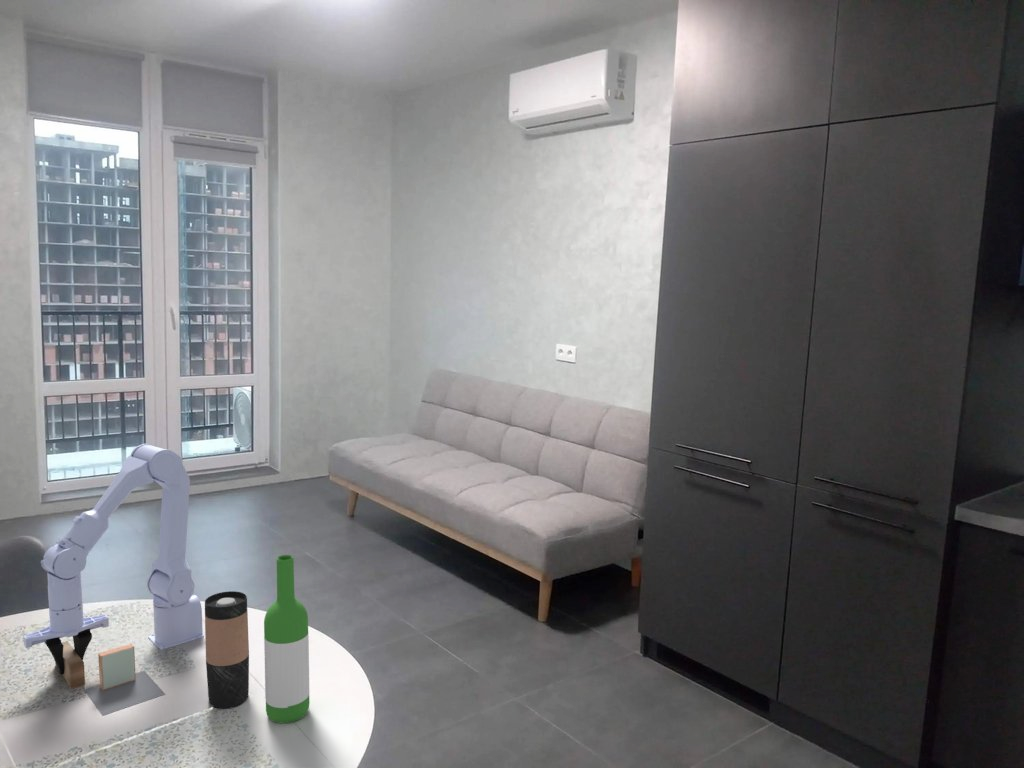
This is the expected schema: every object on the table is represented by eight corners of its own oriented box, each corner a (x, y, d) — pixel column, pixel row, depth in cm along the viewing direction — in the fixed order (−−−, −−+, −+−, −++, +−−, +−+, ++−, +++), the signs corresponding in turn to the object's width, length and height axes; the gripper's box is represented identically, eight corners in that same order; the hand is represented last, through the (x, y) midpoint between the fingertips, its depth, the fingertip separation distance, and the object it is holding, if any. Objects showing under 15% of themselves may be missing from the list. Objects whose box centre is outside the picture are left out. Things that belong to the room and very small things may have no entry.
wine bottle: (315, 717, 138) (313, 560, 134) (272, 730, 134) (268, 568, 130) (302, 698, 145) (300, 547, 141) (261, 709, 141) (257, 554, 137)
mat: (144, 672, 153) (144, 670, 153) (165, 696, 145) (165, 694, 144) (84, 691, 146) (83, 689, 146) (102, 717, 137) (102, 715, 137)
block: (133, 677, 151) (131, 643, 150) (136, 680, 149) (134, 646, 148) (100, 687, 146) (98, 653, 146) (102, 691, 145) (101, 656, 144)
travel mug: (258, 693, 146) (256, 594, 144) (231, 713, 139) (228, 610, 137) (226, 685, 149) (223, 588, 146) (198, 705, 142) (194, 603, 139)
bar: (55, 667, 154) (54, 644, 154) (68, 664, 156) (67, 641, 155) (71, 690, 146) (70, 666, 145) (85, 686, 148) (83, 662, 147)
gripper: (27, 622, 141) (32, 690, 143) (112, 601, 151) (115, 665, 153) (19, 610, 146) (23, 676, 148) (101, 590, 156) (104, 652, 158)
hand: (69, 670), depth 151 cm, fingers closed on bar, 2 cm apart
